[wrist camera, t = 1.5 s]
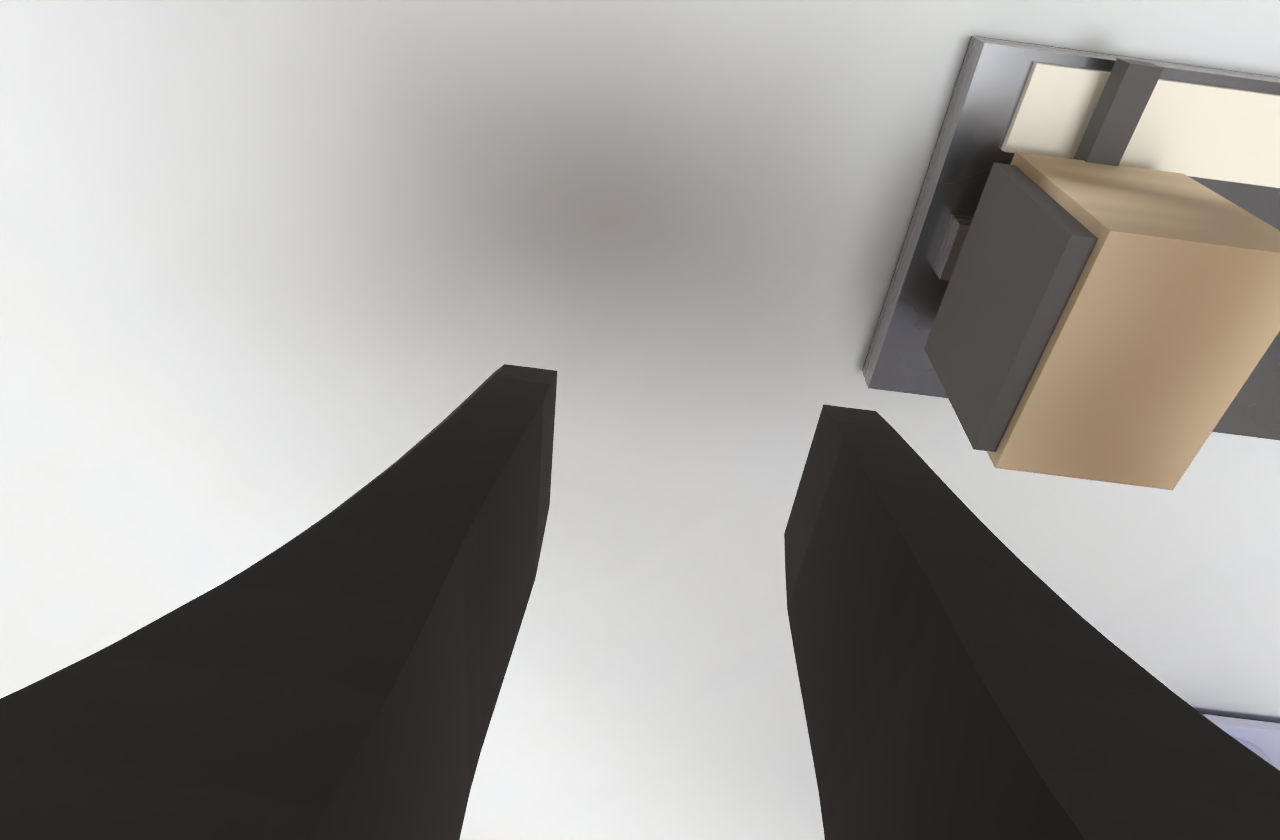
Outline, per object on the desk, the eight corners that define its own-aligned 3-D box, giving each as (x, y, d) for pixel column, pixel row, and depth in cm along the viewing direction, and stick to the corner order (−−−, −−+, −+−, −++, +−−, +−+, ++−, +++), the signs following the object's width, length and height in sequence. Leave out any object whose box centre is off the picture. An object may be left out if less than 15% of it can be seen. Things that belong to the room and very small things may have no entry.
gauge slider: (914, 343, 17) (972, 464, 14) (1023, 45, 14) (1140, 103, 10) (1073, 363, 17) (1172, 490, 14) (1221, 71, 14) (1408, 139, 10)
